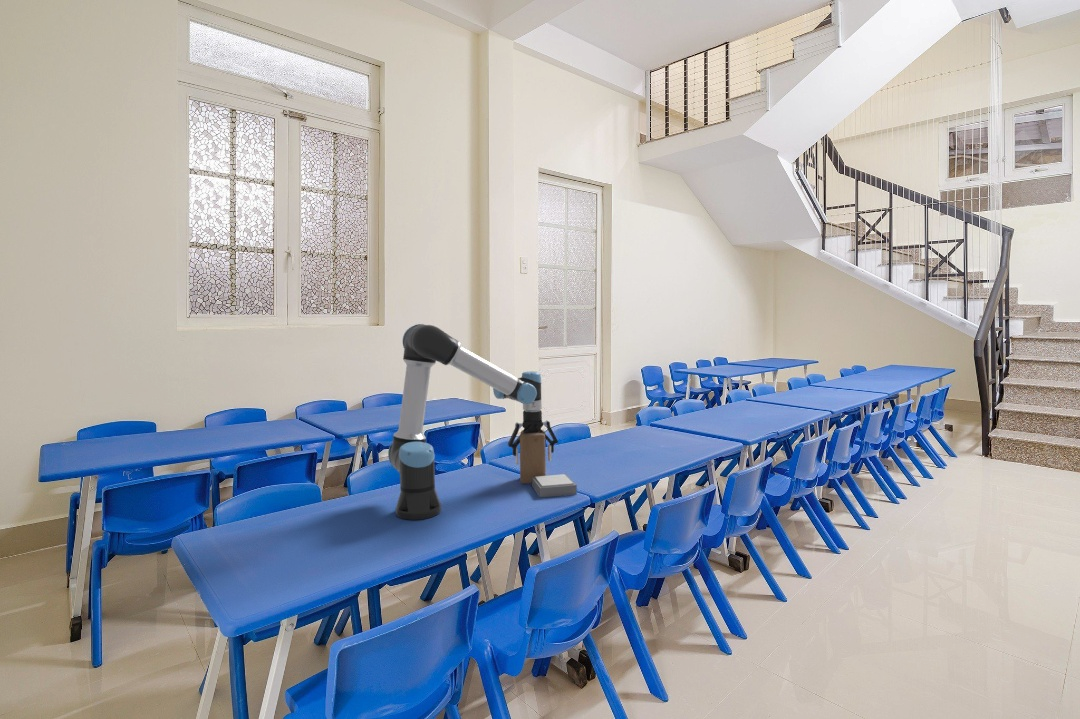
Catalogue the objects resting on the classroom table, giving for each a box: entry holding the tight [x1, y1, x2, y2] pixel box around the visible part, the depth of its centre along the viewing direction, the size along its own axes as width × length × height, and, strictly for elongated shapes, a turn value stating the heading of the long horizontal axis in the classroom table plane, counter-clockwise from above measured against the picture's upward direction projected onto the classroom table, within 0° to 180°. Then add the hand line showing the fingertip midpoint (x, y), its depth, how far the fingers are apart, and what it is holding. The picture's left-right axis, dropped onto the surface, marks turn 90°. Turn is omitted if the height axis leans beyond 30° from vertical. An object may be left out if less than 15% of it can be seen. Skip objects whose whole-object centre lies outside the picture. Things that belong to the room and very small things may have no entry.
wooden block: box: [519, 429, 547, 485], centre depth 231 cm, size 10×10×20 cm
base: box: [531, 473, 578, 498], centre depth 220 cm, size 14×14×4 cm
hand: (533, 462), depth 232 cm, fingers open, 13 cm apart
